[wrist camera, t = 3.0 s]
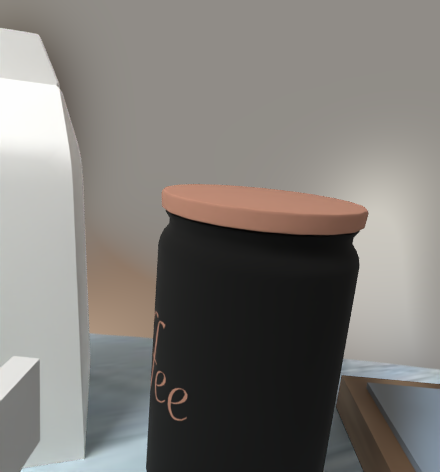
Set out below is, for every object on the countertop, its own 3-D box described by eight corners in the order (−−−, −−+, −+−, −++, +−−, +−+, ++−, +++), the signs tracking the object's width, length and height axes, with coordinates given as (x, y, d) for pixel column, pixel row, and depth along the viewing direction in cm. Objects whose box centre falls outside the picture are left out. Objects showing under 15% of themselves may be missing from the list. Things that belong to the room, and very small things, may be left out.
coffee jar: (169, 409, 29) (185, 180, 25) (306, 431, 28) (344, 196, 24) (117, 547, 19) (130, 195, 15) (330, 589, 18) (403, 224, 14)
